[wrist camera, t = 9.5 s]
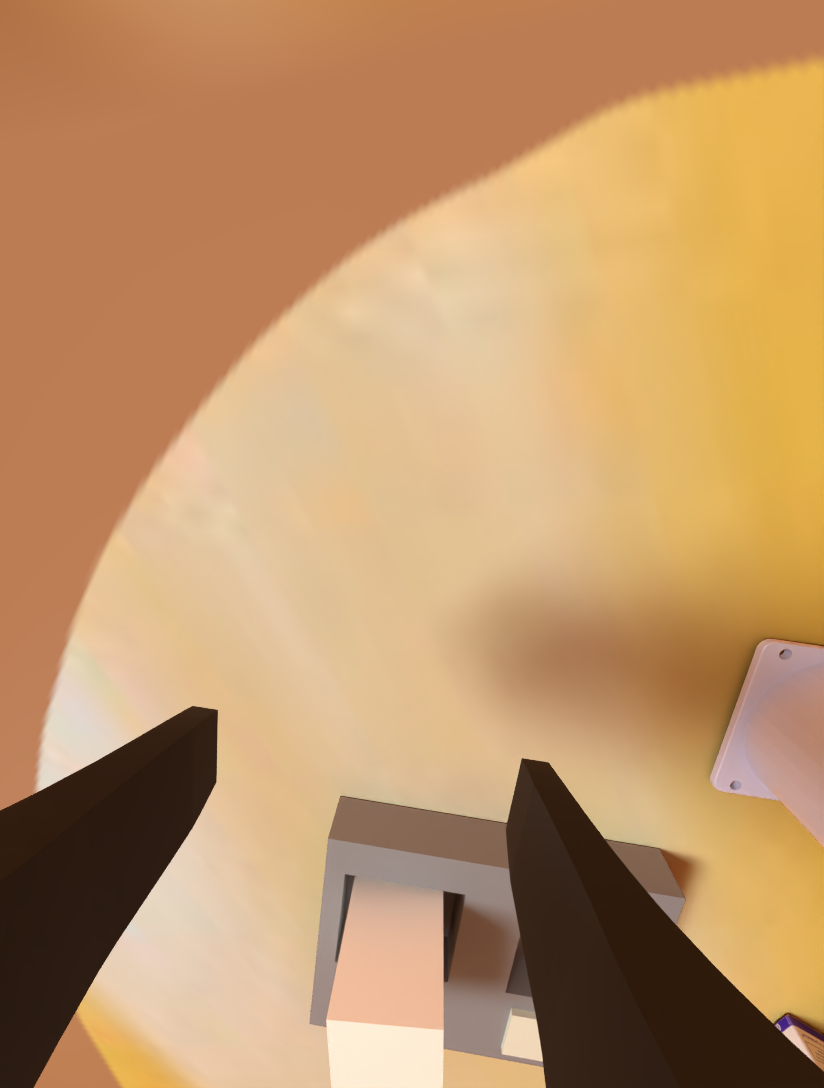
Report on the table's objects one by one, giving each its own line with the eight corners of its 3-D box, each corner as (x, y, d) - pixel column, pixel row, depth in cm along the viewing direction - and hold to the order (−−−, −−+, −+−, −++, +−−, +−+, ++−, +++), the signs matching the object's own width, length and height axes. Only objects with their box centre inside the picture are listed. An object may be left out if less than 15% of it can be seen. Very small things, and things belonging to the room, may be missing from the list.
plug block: (443, 854, 23) (443, 1030, 16) (442, 918, 24) (442, 1108, 17) (360, 849, 23) (326, 1019, 16) (362, 913, 24) (331, 1097, 17)
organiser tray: (659, 848, 22) (689, 905, 20) (600, 1019, 25) (619, 1089, 23) (340, 796, 23) (326, 844, 20) (321, 969, 26) (307, 1031, 23)
